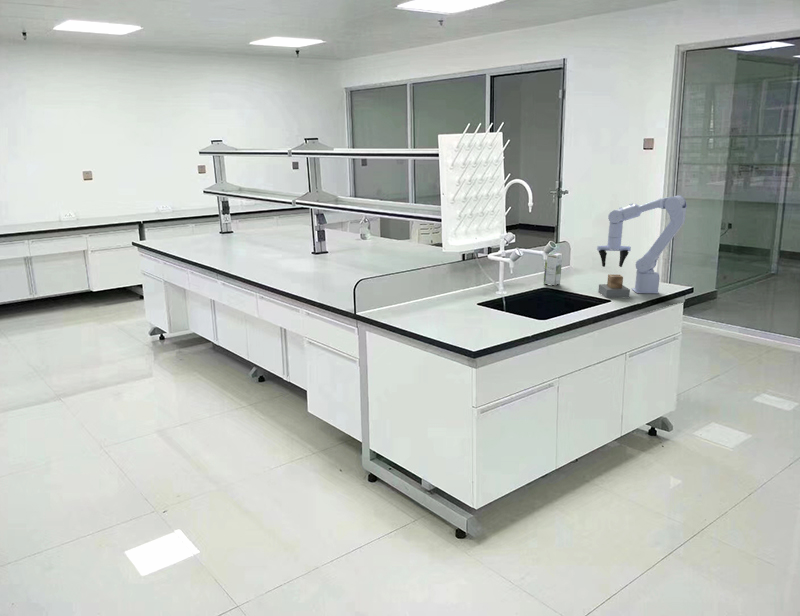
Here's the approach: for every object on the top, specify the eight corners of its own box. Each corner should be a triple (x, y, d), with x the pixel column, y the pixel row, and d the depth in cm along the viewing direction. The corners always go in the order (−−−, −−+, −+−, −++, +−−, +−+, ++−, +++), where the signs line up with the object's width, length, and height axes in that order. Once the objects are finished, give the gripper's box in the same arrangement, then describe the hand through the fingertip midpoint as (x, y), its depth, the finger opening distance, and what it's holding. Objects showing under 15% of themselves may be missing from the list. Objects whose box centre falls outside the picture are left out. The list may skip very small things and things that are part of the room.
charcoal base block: (620, 293, 285) (621, 284, 284) (629, 298, 275) (630, 289, 274) (598, 293, 284) (599, 284, 283) (606, 298, 275) (606, 289, 274)
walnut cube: (618, 285, 281) (619, 274, 279) (622, 288, 276) (623, 277, 274) (607, 285, 281) (608, 274, 279) (610, 288, 276) (611, 276, 275)
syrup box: (548, 282, 302) (551, 251, 299) (560, 284, 299) (562, 253, 295) (543, 284, 298) (545, 253, 294) (554, 286, 294) (557, 255, 291)
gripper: (628, 235, 292) (625, 264, 296) (596, 235, 292) (593, 264, 296) (633, 238, 285) (630, 268, 289) (600, 237, 286) (597, 267, 289)
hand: (612, 266), depth 292 cm, fingers open, 7 cm apart
